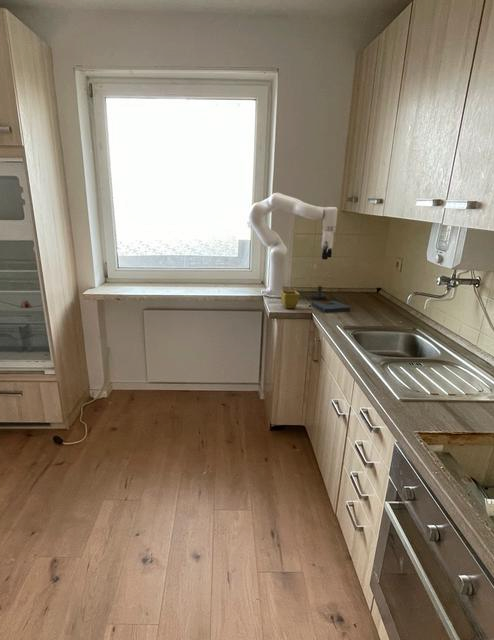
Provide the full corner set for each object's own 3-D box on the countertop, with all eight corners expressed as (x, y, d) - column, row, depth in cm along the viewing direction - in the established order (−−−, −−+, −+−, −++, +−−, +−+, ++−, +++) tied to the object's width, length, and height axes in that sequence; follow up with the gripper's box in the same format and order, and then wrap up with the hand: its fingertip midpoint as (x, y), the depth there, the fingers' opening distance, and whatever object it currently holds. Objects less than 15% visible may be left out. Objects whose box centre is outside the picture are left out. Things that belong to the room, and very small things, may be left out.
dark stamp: (316, 300, 261) (318, 287, 258) (312, 297, 267) (313, 285, 264) (325, 299, 263) (327, 286, 260) (321, 297, 268) (322, 284, 266)
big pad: (324, 312, 234) (325, 309, 233) (311, 305, 248) (311, 302, 247) (349, 310, 238) (350, 307, 237) (335, 303, 252) (335, 300, 252)
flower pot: (293, 305, 248) (295, 290, 245) (298, 309, 240) (299, 293, 237) (279, 305, 247) (280, 290, 243) (284, 309, 239) (285, 294, 235)
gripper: (326, 227, 256) (324, 256, 263) (319, 229, 242) (316, 259, 248) (338, 228, 253) (335, 256, 260) (332, 230, 239) (329, 260, 245)
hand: (326, 258), depth 254 cm, fingers open, 9 cm apart
